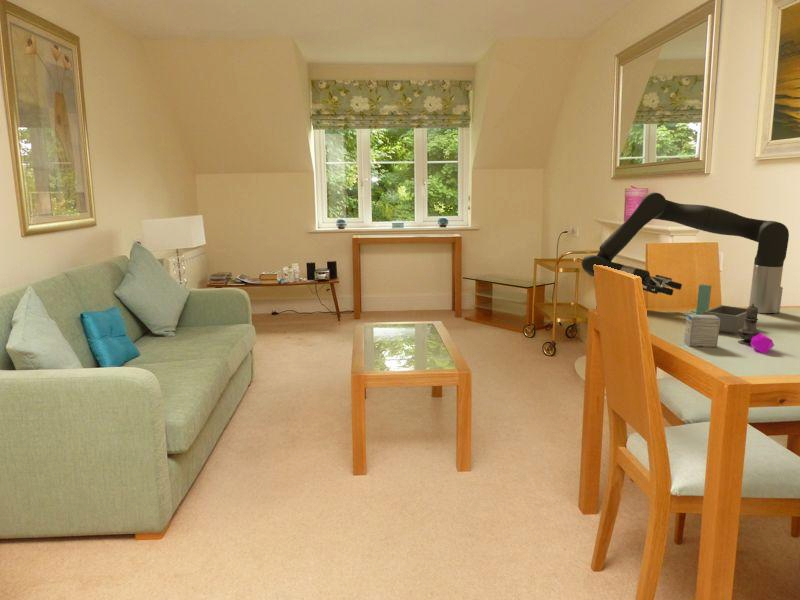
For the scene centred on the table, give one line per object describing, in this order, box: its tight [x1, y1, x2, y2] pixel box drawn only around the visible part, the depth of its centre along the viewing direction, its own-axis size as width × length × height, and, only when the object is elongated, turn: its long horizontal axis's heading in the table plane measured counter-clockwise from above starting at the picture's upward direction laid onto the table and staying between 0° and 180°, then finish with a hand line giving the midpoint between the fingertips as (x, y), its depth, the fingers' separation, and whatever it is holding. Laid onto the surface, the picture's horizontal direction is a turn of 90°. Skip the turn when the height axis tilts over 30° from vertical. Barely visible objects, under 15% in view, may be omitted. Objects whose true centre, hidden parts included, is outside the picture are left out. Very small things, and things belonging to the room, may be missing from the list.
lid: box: [683, 283, 712, 317], centre depth 221 cm, size 17×11×12 cm, turn 134°
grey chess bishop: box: [737, 304, 762, 346], centre depth 182 cm, size 6×6×12 cm
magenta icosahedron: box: [750, 332, 775, 354], centre depth 174 cm, size 5×5×5 cm
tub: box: [703, 304, 747, 336], centre depth 201 cm, size 16×10×6 cm, turn 134°
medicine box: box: [683, 315, 720, 348], centre depth 179 cm, size 8×4×9 cm, turn 84°
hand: (677, 289), depth 224 cm, fingers open, 8 cm apart
